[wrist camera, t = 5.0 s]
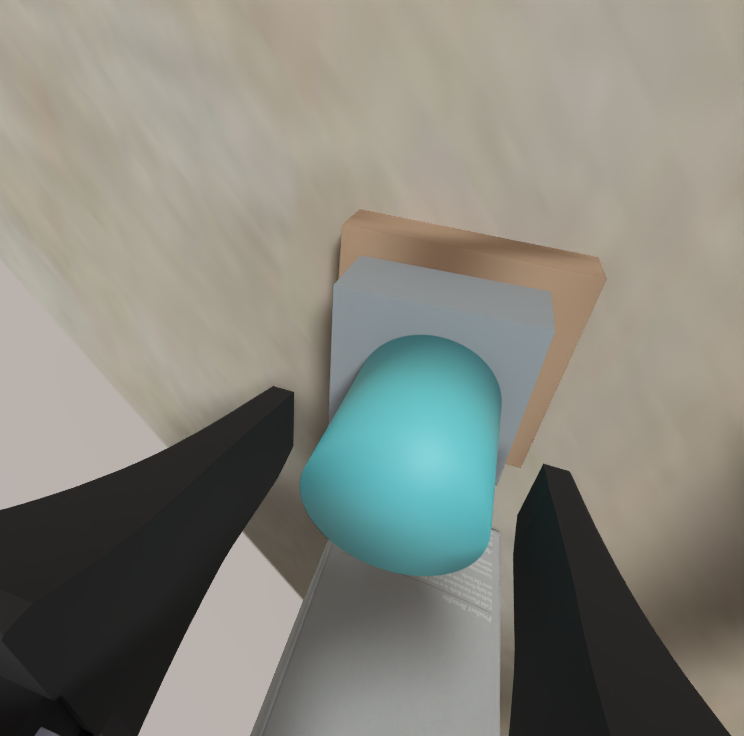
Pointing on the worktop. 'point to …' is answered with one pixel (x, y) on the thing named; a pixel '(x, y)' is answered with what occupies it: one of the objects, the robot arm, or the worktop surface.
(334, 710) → the skincare box
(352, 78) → the worktop surface
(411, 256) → the walnut base slab
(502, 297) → the slate top slab
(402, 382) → the teal cylinder
